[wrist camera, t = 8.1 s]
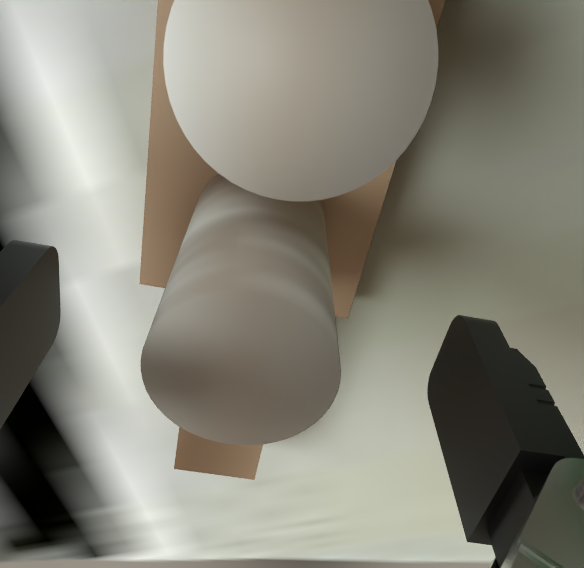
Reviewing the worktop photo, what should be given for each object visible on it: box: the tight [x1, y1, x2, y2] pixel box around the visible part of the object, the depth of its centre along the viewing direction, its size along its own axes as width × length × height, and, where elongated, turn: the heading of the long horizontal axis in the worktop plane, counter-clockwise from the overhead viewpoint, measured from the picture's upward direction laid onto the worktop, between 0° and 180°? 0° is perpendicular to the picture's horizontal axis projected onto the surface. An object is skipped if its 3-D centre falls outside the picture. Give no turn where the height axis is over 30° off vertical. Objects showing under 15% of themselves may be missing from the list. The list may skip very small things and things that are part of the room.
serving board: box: [140, 0, 445, 480], centre depth 13 cm, size 6×16×7 cm, turn 169°
